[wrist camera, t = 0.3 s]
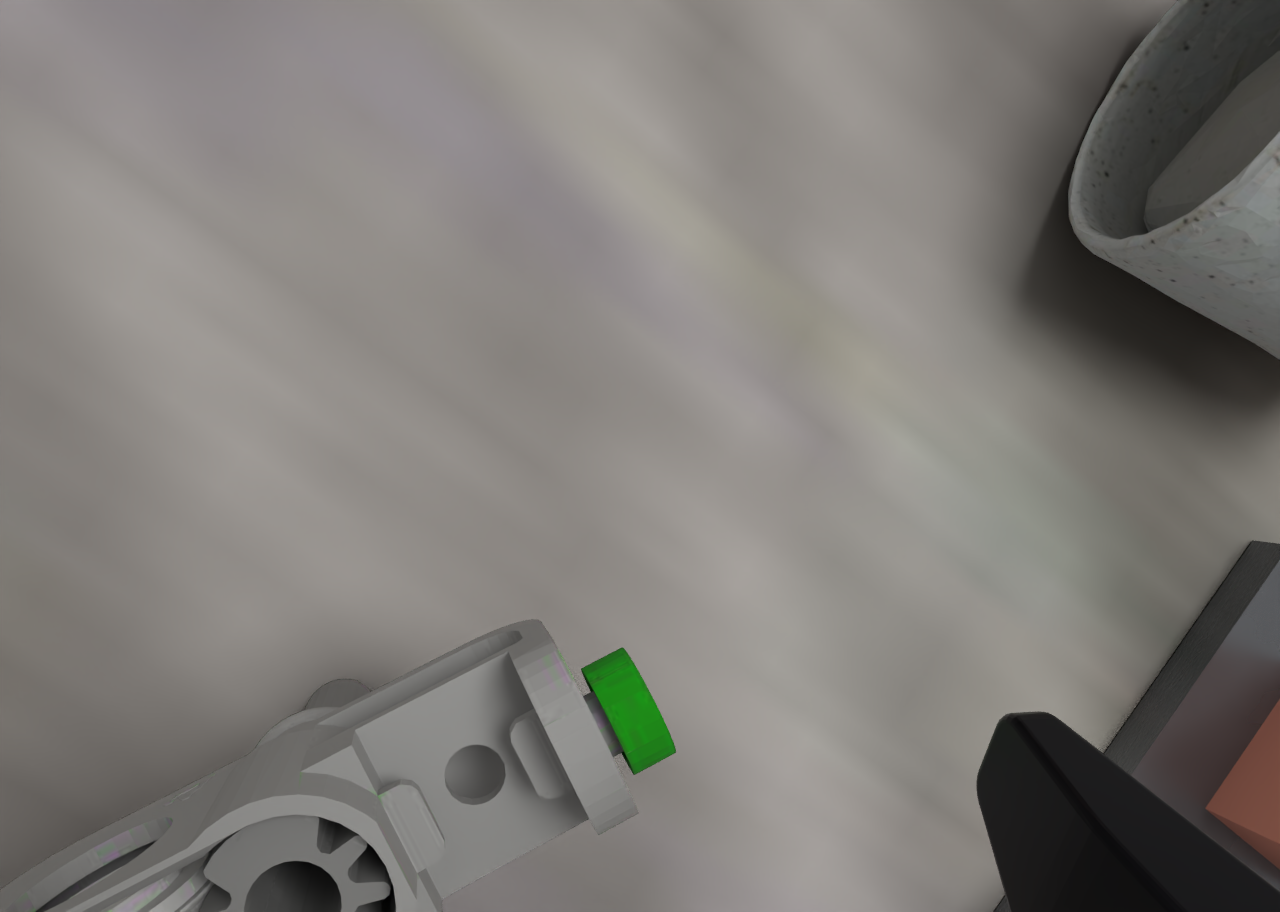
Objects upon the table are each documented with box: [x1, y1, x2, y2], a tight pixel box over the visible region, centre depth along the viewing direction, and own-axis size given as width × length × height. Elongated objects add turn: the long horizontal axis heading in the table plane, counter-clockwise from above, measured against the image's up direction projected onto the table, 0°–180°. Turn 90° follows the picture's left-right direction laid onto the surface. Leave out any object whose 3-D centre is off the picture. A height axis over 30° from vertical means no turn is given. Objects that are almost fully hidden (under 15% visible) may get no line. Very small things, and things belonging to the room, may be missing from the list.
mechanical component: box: [0, 619, 676, 912], centre depth 19 cm, size 3×10×10 cm, turn 116°
